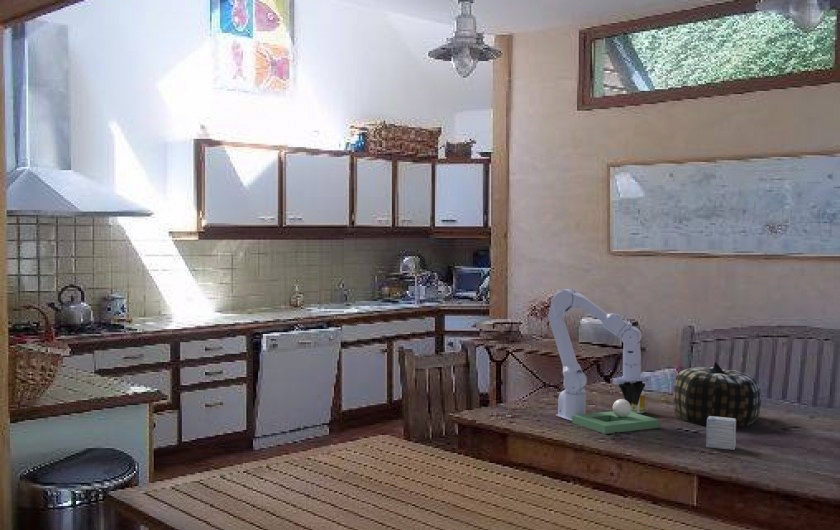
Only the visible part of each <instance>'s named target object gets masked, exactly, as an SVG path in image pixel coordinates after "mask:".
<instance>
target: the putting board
mask: <svg viewBox="0 0 840 530" xmlns="http://www.w3.org/2000/svg"><path fill="white" fill-rule="evenodd" d="M571 423H572V424H574V425H577V426H579V427H580V426H581V427H583V428H587V429H589V430H592V431H595V432H599V433H602V434H605V435H607V434H616V433H615V432H617V433H625V432H631V431H632V432H633V431H640V430H641V431H642V430H649V429H650V430H651V429H657V428H660V419H658V418H653V417H650V416H646V415H643V414H641V413H633V412H630V414H629V415H628V416H626V417H618V416H616V415H615V414H614V412H613V410H612V411H603V412H594V413H593V412H592V413H585V414H581V415H572V421H571Z"/></svg>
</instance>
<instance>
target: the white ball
mask: <svg viewBox="0 0 840 530" xmlns="http://www.w3.org/2000/svg"><path fill="white" fill-rule="evenodd" d="M612 411H613V412H614V414H615V415H616V416H618V417H626V416H628V415H629V414H630V412H631V405H630V403H629V402H628V401H627V400H625V398H619V399H616V400H615V401H614V403H613V405H612Z"/></svg>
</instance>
